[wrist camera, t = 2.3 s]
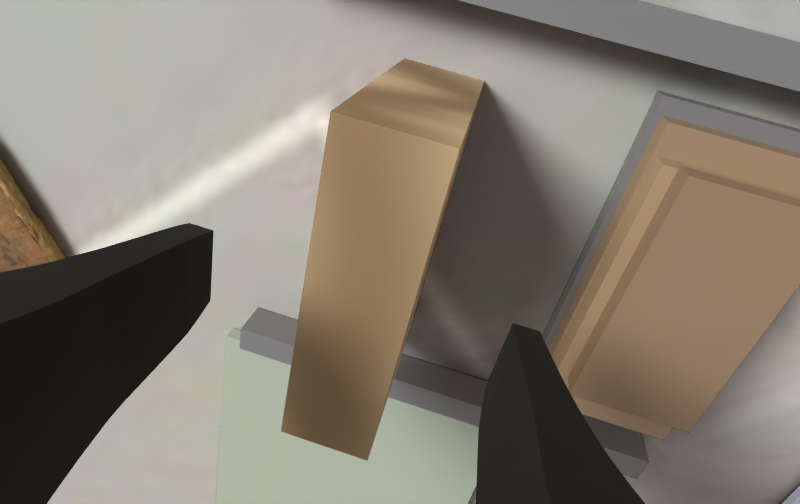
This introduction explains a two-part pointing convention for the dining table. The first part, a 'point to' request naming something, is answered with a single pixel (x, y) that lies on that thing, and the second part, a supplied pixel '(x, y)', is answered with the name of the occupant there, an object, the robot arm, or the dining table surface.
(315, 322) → the oak block
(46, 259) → the shard
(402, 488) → the sage mat
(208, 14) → the dining table surface
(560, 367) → the offcut rack
